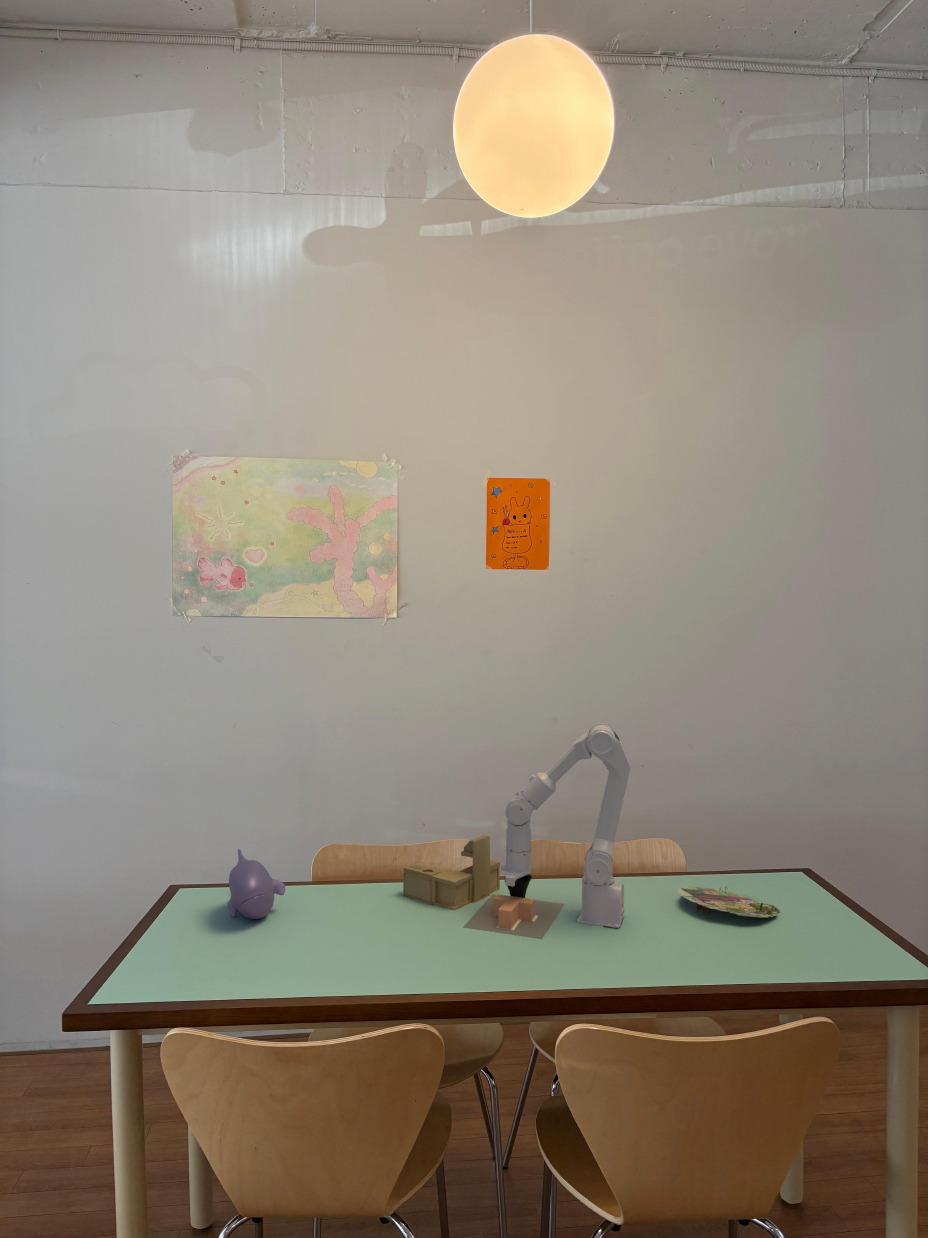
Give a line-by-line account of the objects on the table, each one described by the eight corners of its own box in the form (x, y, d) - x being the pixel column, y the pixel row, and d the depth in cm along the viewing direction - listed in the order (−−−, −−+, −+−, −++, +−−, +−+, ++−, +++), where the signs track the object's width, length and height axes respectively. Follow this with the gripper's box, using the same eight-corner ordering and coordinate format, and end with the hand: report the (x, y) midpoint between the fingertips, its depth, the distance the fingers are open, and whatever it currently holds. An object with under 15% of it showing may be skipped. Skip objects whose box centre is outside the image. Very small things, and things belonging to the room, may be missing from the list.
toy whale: (230, 939, 177) (204, 869, 178) (237, 915, 201) (214, 854, 202) (290, 912, 180) (265, 844, 181) (290, 892, 205) (268, 831, 206)
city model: (804, 925, 193) (806, 898, 193) (741, 934, 180) (743, 906, 180) (716, 895, 214) (718, 871, 214) (654, 902, 200) (656, 876, 201)
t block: (534, 917, 189) (535, 899, 189) (524, 931, 181) (524, 913, 181) (497, 911, 192) (497, 894, 192) (485, 925, 184) (485, 907, 184)
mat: (564, 905, 198) (564, 904, 198) (542, 940, 177) (542, 939, 177) (492, 895, 204) (492, 894, 204) (462, 928, 183) (462, 927, 183)
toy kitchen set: (449, 878, 217) (450, 820, 217) (502, 892, 207) (502, 831, 207) (402, 897, 203) (403, 835, 202) (456, 913, 193) (457, 848, 192)
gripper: (510, 839, 200) (510, 894, 200) (492, 856, 186) (492, 916, 187) (539, 842, 198) (538, 898, 198) (523, 859, 184) (522, 920, 184)
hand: (517, 907), depth 192 cm, fingers closed
